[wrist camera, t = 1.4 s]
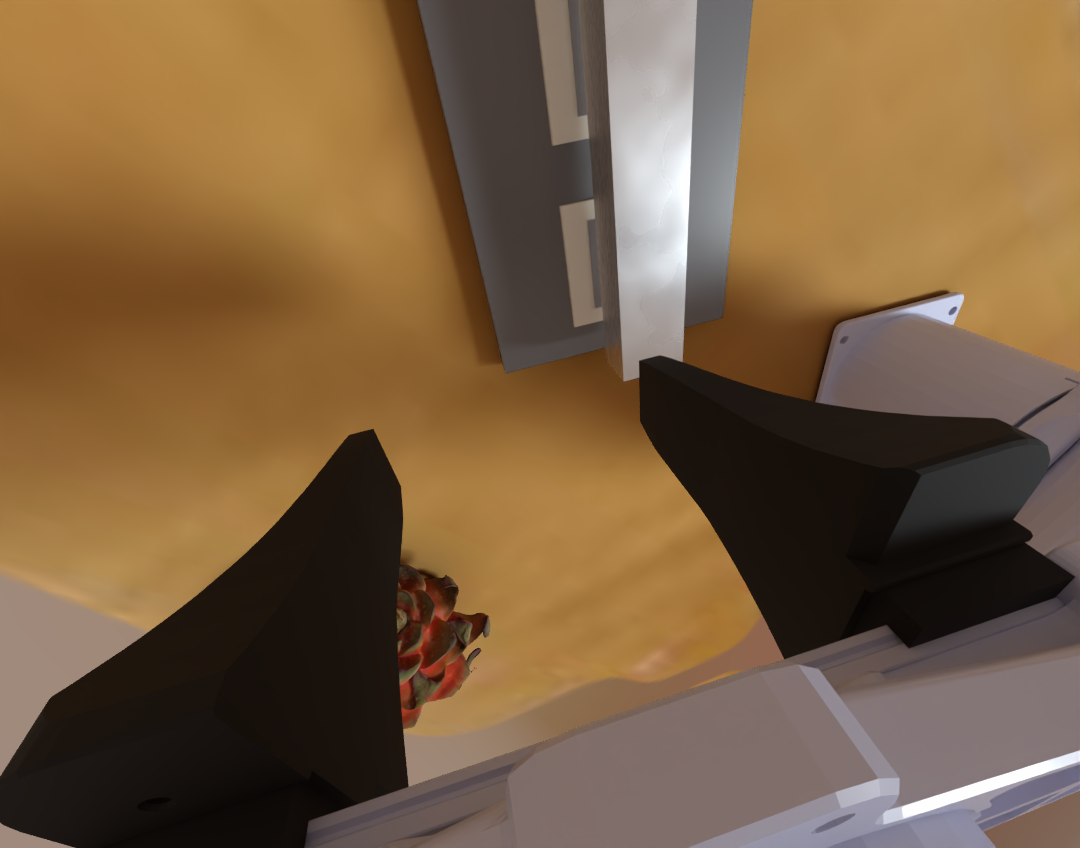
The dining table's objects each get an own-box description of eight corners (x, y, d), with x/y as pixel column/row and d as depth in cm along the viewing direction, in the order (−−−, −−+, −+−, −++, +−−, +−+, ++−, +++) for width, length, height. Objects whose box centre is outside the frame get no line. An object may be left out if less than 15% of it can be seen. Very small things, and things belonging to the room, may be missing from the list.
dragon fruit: (362, 504, 26) (449, 583, 34) (238, 632, 22) (369, 684, 31) (453, 575, 21) (529, 646, 29) (314, 753, 18) (445, 775, 26)
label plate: (711, 310, 22) (746, 332, 20) (502, 363, 21) (513, 393, 19) (767, -401, 11) (861, -544, 9) (330, -361, 10) (302, -512, 8)
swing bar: (523, -531, 8) (550, -699, 6) (677, -540, 8) (740, -705, 7) (600, 361, 19) (617, 383, 17) (665, 344, 19) (688, 364, 17)
